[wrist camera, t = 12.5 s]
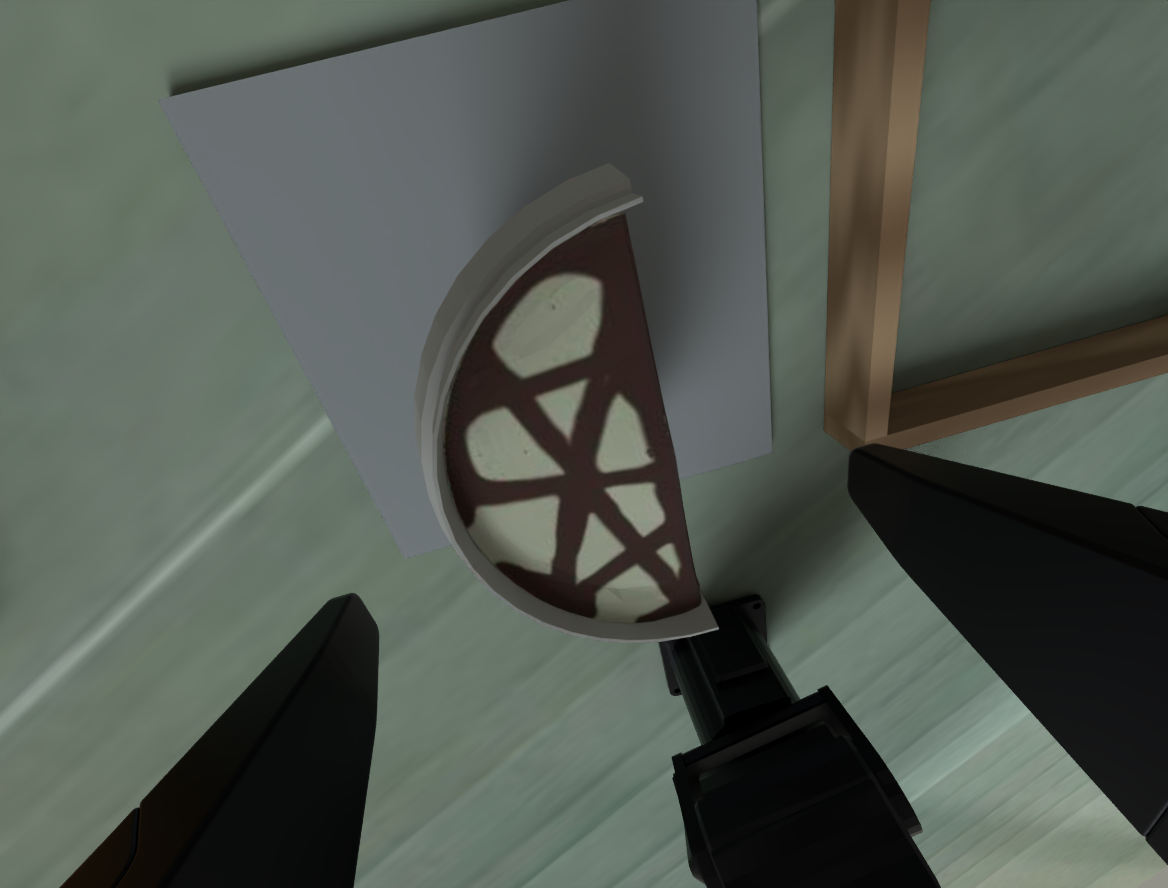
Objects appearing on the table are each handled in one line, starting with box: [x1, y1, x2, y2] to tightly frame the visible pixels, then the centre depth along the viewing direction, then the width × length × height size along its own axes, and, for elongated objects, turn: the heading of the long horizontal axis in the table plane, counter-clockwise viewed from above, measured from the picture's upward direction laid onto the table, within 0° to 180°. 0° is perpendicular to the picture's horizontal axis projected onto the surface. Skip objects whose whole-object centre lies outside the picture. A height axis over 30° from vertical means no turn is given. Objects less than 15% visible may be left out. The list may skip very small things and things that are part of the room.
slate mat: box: [158, 0, 772, 559], centre depth 20 cm, size 18×18×1 cm
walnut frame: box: [824, 0, 1168, 451], centre depth 19 cm, size 18×22×3 cm
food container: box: [414, 163, 719, 643], centre depth 16 cm, size 12×6×10 cm, turn 15°
